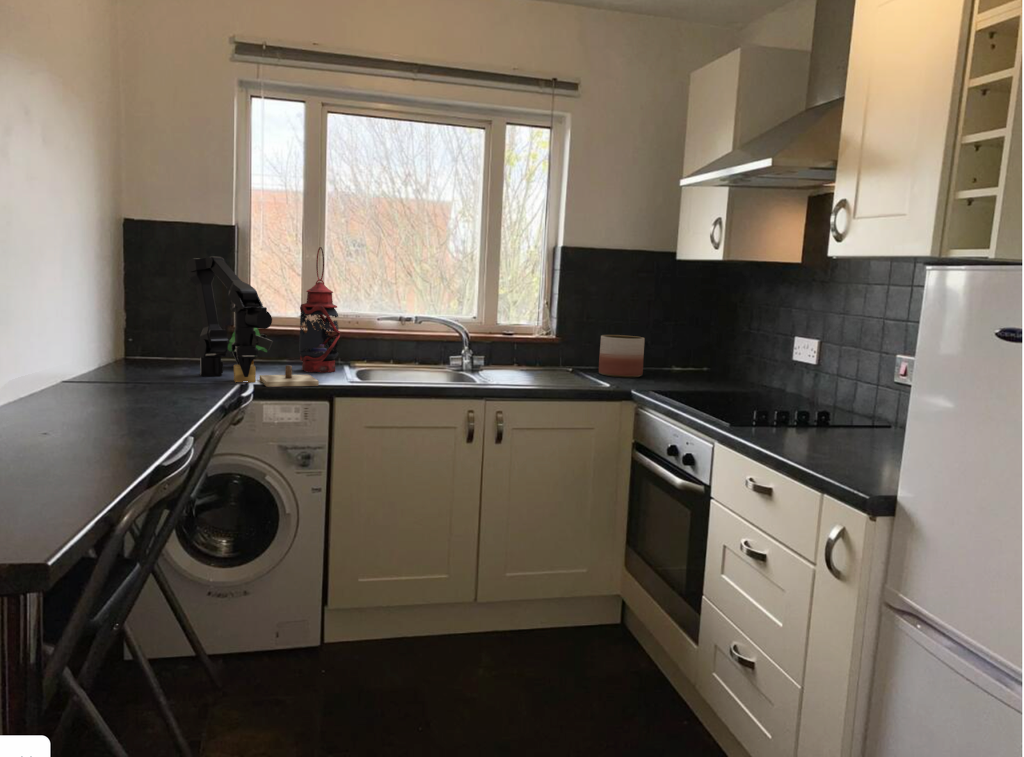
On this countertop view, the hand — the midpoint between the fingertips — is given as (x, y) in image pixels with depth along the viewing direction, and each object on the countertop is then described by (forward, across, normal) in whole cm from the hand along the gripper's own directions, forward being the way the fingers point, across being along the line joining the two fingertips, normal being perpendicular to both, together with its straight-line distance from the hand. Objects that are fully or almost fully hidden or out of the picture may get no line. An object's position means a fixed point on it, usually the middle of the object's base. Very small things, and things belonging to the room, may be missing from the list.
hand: (244, 375), depth 248 cm
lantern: (+2, +25, -29) cm, 38 cm away
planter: (+2, +1, -145) cm, 145 cm away
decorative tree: (+2, +36, -5) cm, 36 cm away
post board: (+2, -5, -13) cm, 14 cm away
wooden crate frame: (+2, 0, 0) cm, 2 cm away
